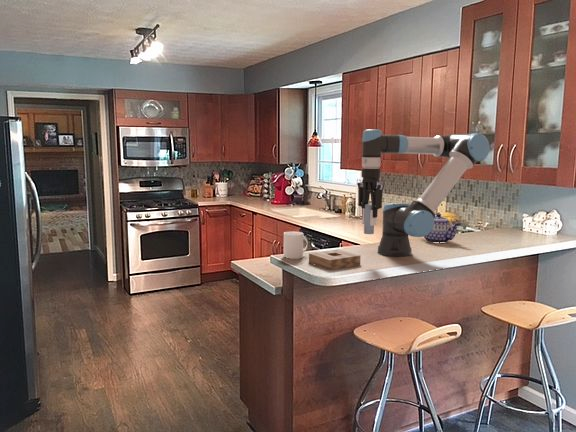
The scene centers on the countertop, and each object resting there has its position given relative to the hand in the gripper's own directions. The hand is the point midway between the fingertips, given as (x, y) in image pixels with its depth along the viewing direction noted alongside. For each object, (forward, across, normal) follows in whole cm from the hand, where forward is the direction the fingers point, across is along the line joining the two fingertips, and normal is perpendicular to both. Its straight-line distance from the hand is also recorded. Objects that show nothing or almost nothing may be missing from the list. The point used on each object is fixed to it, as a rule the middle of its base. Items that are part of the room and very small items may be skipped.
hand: (369, 224), depth 203 cm
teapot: (+17, -16, +63) cm, 67 cm away
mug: (+17, -25, -19) cm, 36 cm away
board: (+16, -6, -13) cm, 22 cm away
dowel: (+4, 0, 0) cm, 4 cm away
